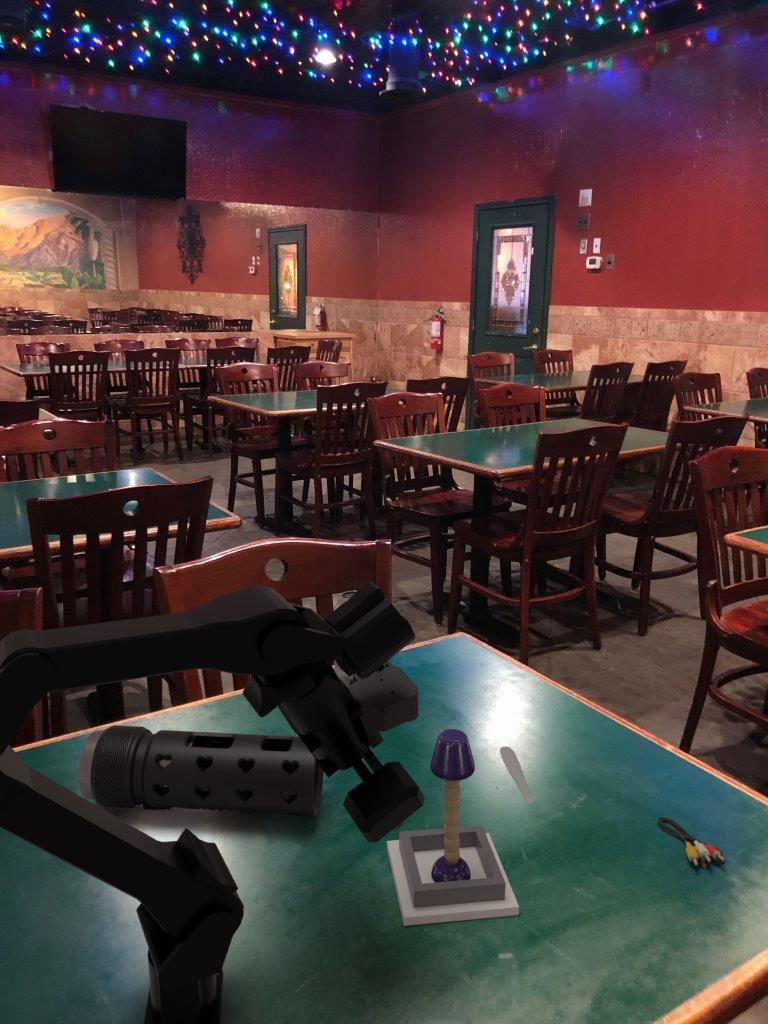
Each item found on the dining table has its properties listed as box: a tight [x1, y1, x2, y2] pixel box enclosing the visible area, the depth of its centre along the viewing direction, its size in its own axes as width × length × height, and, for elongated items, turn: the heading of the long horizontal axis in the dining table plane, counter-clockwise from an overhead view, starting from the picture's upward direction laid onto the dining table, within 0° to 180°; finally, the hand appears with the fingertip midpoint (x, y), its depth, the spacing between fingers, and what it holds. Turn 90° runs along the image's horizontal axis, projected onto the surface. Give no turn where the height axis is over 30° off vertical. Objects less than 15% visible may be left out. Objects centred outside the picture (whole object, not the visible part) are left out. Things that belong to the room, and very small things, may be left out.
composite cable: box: [656, 816, 725, 870], centre depth 96 cm, size 10×5×2 cm, turn 10°
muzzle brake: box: [78, 724, 325, 818], centre depth 100 cm, size 10×28×10 cm, turn 86°
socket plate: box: [386, 825, 520, 927], centre depth 90 cm, size 12×12×3 cm
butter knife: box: [499, 746, 533, 804], centre depth 103 cm, size 1×27×3 cm
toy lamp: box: [429, 728, 476, 883], centre depth 87 cm, size 5×5×17 cm
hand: (375, 793), depth 83 cm, fingers open, 9 cm apart
